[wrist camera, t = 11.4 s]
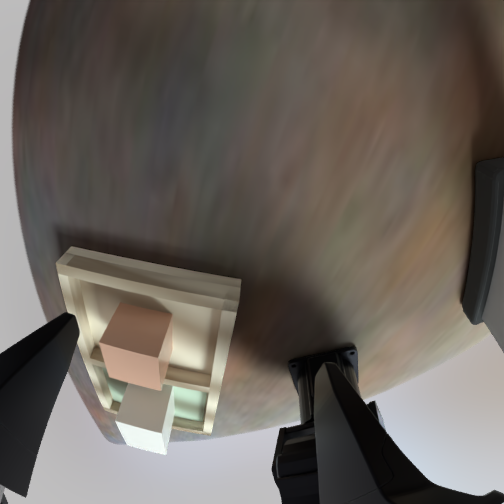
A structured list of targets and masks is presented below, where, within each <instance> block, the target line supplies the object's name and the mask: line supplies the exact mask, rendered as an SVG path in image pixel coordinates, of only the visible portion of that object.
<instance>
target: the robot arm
mask: <svg viewBox="0 0 504 504" xmlns="http://www.w3.org/2000/svg"><path fill="white" fill-rule="evenodd" d="M79 335H80V329H79V326H78V322H77V319H76V316H75V315H74V314H71V313H67V312H65V313H63V314H61V315H60V316H58V317H56V318H55V319H53V320H52V321H50V322H48V323H47V324H45V325H44V326H42V327H41V328H39V329H37V330H36V331H34V332H33V333H31V334H30V335H28V336H26V337H25V338H23V339H22V340H20V341H19V342H17V343H16V344H14V345H13V346H11V347H10V348H8V349H7V350H5V351H4V352H2V353H1V354H0V504H8V502H7V500H6V497H5V495H4V493H3V492H4V489H5V487H6V488H8V489H9V490H11V491H13V492H15V493H17V494H19V495H22V496H24V497H26V496H27V492H28V488H29V484H30V480H31V476H32V472H33V468H34V465H35V461H36V458H37V454H38V450H39V447H40V444H41V441H42V438H43V435H44V432H45V429H46V426H47V423H48V420H49V417H50V415H51V412H52V409H53V407H54V404H55V401H56V399H57V396H58V394H59V391H60V389H61V386H62V383H63V381H64V379H65V376H66V374H67V372H68V369H69V366H70V363H71V360H72V357H73V353H74V350H75V347H76V344H77V341H78V338H79ZM288 367H289V370H290V373H291V376H292V379H293V381H294V384H295V387H296V390H297V393H298V396H299V404H300V417H301V425H297V426H293V427H288V428H286V427H284V428H280V430H279V435H278V439H277V445H276V450H275V454H274V460H273V464H272V473H273V476H274V480H275V483H276V485H277V487H278V488H279V491H280V495H281V500H282V504H502V503H503V502H504V494H503V493H501V492H499V491H496V490H493V491H491V492H489V493H487V494H486V495H484V496H475V495H471V494H467V493H463V492H459V491H455V490H452V489H448V488H445V487H442V486H439V485H436V484H434V483H432V482H431V481H430V480H428V479H427V478H426V477H425V476H424V475H423V474H422V473H421V472H420V471H419V470H418V469H417V468H416V466H415V465H413V463H412V462H411V461H410V460H409V459H408V458H407V457H406V456H405V455H404V454H403V452H402V451H401V450H400V449H399V447H398V446H397V445H396V444H395V443H394V441H393V440H392V438H391V437H390V436H389V434H387V432H386V430H385V426H384V422H383V418H382V416H381V414H380V411H379V409H378V406H377V404H376V402H375V401H372V402H370V403H369V404H367V405H366V404H365V402H364V401H363V400H362V398H361V395H360V391H359V387H358V353H357V349H356V347H348V348H344V349H340V350H336V351H331V352H327V353H322V354H318V355H313V356H308V357H303V358H298V359H293V360H290V361H289V362H288Z"/></svg>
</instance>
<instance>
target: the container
mask: <svg viewBox="0 0 504 504" xmlns="http://www.w3.org/2000/svg"><path fill="white" fill-rule="evenodd" d="M475 178H476V184H475V215H474V229H473V239H472V248H471V256H470V264H469V270H468V276H467V282H466V288H465V293H464V298H463V303H462V307H463V311H464V313H465V314H466V316H467V317H468V319H469V320H470V322H471V323H472V324H473V325H477V324H479V323H482V322H484V323H485V324H486V325H487V327H488V329H489V330H490V332H491V333H492V335H493V336H494V338H495V339H496V341H497V342H498V344H499V346H500V348H501V349H502V351H503V352H504V157H503V158H497V159H491V160H485V161H480V162H478V163H477V165H476V168H475Z"/></svg>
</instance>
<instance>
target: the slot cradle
mask: <svg viewBox="0 0 504 504" xmlns="http://www.w3.org/2000/svg"><path fill="white" fill-rule="evenodd" d="M56 267H57V271H58V276H59V280H60V285H61V289H62V293H63V297H64V301H65V304H66V308H67V312H68V313H71V314H74V315H75V316H76V319H77V322H78V326H79V329H80V335H79V338H78V341H77V344H78V346H79V349H80V352H81V355H82V358H83V360H84V363H85V366H86V368H87V371H88V373H89V376H90V378H91V381H92V383H93V386H94V388H95V390H96V393H97V395H98V397H99V399H100V401H101V404H102V406H103V408H104V410H105V411H108V412H112V413H115V414H118V411H119V408H120V405H121V402H122V399H123V396H124V393H125V391H126V388H127V385H128V382H124V381H121V380H117V379H114V378H110V377H109V375H108V372H107V369H106V365H105V362H104V359H103V355H102V352H101V348H100V344H99V341H100V339H101V337H102V335H103V333H104V331H105V330H106V328H107V326H108V324H109V322H110V320H111V318H112V316H113V315H114V313H115V311H116V309H117V307H118V305H119V304H120V302H121V303H125V304H129V305H134V306H138V307H142V308H147V309H151V310H156V311H160V312H165V313H170V314H173V350H172V354H171V357H170V361H169V364H168V368H167V372H166V375H165V379H164V382H163V384H166V385H171V386H174V406H175V414H174V419H173V423H172V429H176V430H181V431H186V432H192V433H197V434H203V435H210V436H211V432H212V427H213V422H214V418H215V413H216V408H217V403H218V399H219V394H220V389H221V385H222V380H223V375H224V370H225V366H226V361H227V356H228V352H229V347H230V342H231V337H232V333H233V328H234V323H235V319H236V314H237V309H238V305H239V298H240V288H241V279H236V278H230V277H225V276H219V275H213V274H208V273H202V272H197V271H191V270H186V269H181V268H176V267H170V266H165V265H160V264H155V263H150V262H145V261H140V260H135V259H130V258H125V257H120V256H115V255H110V254H105V253H101V252H96V251H91V250H87V249H82V248H77V247H73V246H71V247H70V248H69V249H68V250H67V251H66V252H65V253H64V254H63V255H62V257H61V258H60V259H59V260H58V261H57V262H56Z"/></svg>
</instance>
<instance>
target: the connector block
mask: <svg viewBox="0 0 504 504" xmlns="http://www.w3.org/2000/svg"><path fill="white" fill-rule="evenodd" d="M174 414H175V406H174V386H171V385H166V384H163V386H162V390H161V391H159V390H155V389H150V388H146V387H142V386H139V385H135V384H131V383H128V385H127V388H126V391H125V393H124V396H123V399H122V402H121V405H120V408H119V411H118V414H117V417H116V420H115V421H116V423H117V425H118V428H119V430H120V432H121V434H122V436H123V438H124V440H125V442H126V443H127V445H129V446H132V447H136V448H140V449H143V450H147V451H151V452H155V453H159V454H164V455H166V453H167V447H168V443H169V438H170V433H171V428H172V423H173V419H174Z"/></svg>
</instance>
